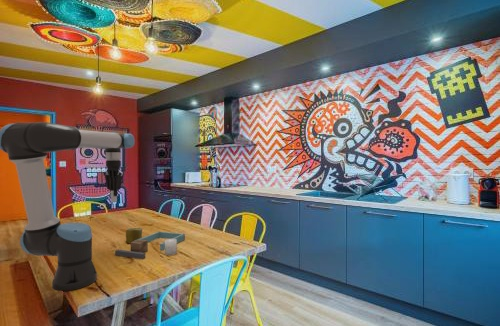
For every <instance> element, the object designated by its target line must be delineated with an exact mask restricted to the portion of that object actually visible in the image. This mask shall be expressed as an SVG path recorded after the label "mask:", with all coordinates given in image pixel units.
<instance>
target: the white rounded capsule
mask: <svg viewBox="0 0 500 326" xmlns="http://www.w3.org/2000/svg"><path fill="white" fill-rule="evenodd" d="M164 242H165V249H164V256H165V255H166V256H174V255H176V254H178V253H177V251H178V250H177V248H178V247H177V244H178V243H177V240H176V239H169V238H165V240H164Z"/></svg>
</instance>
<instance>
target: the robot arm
mask: <svg viewBox="0 0 500 326" xmlns="http://www.w3.org/2000/svg"><path fill="white" fill-rule="evenodd" d="M134 146H135V136H134V135H133V134H132V133H126V132H125V133H119V132H113V131H110V132H109V131H108V132H106V131H96V130H86V129H78V127H76V126H71V125H65V124H59V123H55V122H54V123H53V122H47V121H46V122H45V121H38V122H37V121H36V122H35V121H33V122H15V123H9V124H6V125H4V126H2V127H1V129H0V150H1V151H2V152H3V153H6V154H7V157H8V160H9V161H10V162H12V163H13V164H15V168H16V172H17V177H18V181H19V186H20V191H21V195H22V200H23V203H24V208H25V213H26V218H27V223H26V225H25V226H24V230H23V232H22V236H20V239H19V245H20V247H21V249H22V250H23V251H24V253H26V254H28V255H32V256H38V257H40V256H47V257H57V268H56V270H55V274H54V277H53V279H52V282H51V283H52V284H51V285H52V287H51V288H52V289H53V290H54V291H58V292H68V291H73V290H74V291H75V290H78V289H82V288H85V287H87V286H90V285H92V284H93V283H95V282H96V281H97V280H98V273H97V269H96V267H95V264H94V262H93V233H92V228H91V225H90V224H87V223H83V222H65V223H62V222H61V219H60V218H59V217H57V216H55V211H54V206H53V202H52V201H53V200H52V197H51V191H50V187H49V186H50V185H49V182H48V176H47V171H46V166H45V161H44V160H45V159H46V158H47V157H48V153H55V152H62V151H63V152H64V151H74V150H77V149H79V148H80V149H87V148H89V149H90V148H91V149H97V150H98V149H99V150H102V149H104V150H105V160H106V161H105V167H106V171H105V172H103V173H102V175H104V179H105V185H106V189H107V190H109V191H110V192H109V196H110V203H117V202H118V191H119V190H121V188H122V182H123V177H124V174H125V173H124V171H123V172H122V171H121V167H122V161H121V159H122V156H121V155H122V154H121V153H122V151H121V149H131V148H133V147H134ZM61 223H62V224H61Z"/></svg>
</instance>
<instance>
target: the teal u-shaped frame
mask: <svg viewBox="0 0 500 326" xmlns="http://www.w3.org/2000/svg"><path fill="white" fill-rule="evenodd" d="M185 235H186V233H180V232H178V233H177V232H168V231H157V232H154V233H151V234H148V235H147V236H142V238H141V239H138V240H147V241H148V243H150V242H152V241H155V240H157V239H160V238H161V239H176V240H177V244H179V243H181V242H183V241H185V240H186V236H185ZM135 241H136V240H135ZM159 250H160V251H165V241H164V242H162V243H160V244H159Z"/></svg>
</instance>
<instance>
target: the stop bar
mask: <svg viewBox="0 0 500 326" xmlns="http://www.w3.org/2000/svg"><path fill="white" fill-rule="evenodd" d="M117 255H118V257H119V256H120V257H125V258H133V259H139V260H145V258H146V252H145V253H141V252H134V251H131V250H124V249H116V250H115V251H114V256H117Z"/></svg>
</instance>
